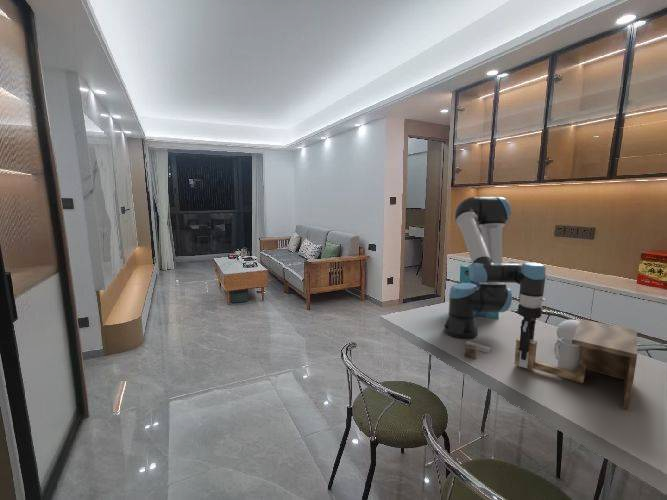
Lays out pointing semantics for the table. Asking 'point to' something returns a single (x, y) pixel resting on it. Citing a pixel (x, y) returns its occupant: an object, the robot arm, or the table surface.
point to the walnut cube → (470, 351)
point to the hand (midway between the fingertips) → (524, 364)
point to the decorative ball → (567, 329)
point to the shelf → (609, 351)
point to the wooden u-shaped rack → (551, 369)
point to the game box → (466, 279)
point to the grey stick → (479, 347)
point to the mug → (568, 354)
